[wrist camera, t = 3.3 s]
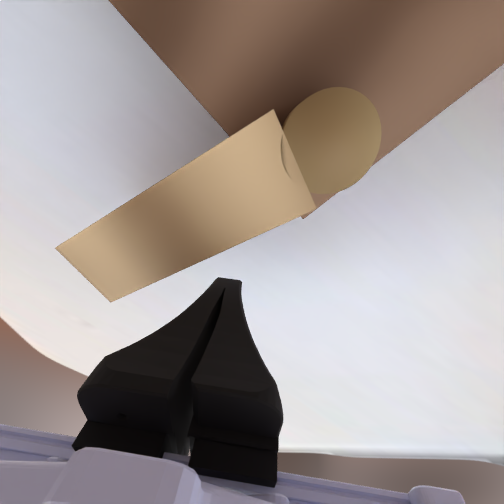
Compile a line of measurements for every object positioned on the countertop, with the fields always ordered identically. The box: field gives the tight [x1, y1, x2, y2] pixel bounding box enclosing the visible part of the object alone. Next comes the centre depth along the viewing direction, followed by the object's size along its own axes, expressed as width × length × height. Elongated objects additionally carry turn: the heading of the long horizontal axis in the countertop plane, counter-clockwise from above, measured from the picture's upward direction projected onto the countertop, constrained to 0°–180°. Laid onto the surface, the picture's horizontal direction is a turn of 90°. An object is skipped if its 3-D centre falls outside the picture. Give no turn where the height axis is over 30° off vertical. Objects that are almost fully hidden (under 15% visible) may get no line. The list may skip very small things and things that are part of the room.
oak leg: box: [55, 87, 382, 302], centre depth 10 cm, size 12×3×3 cm, turn 119°
